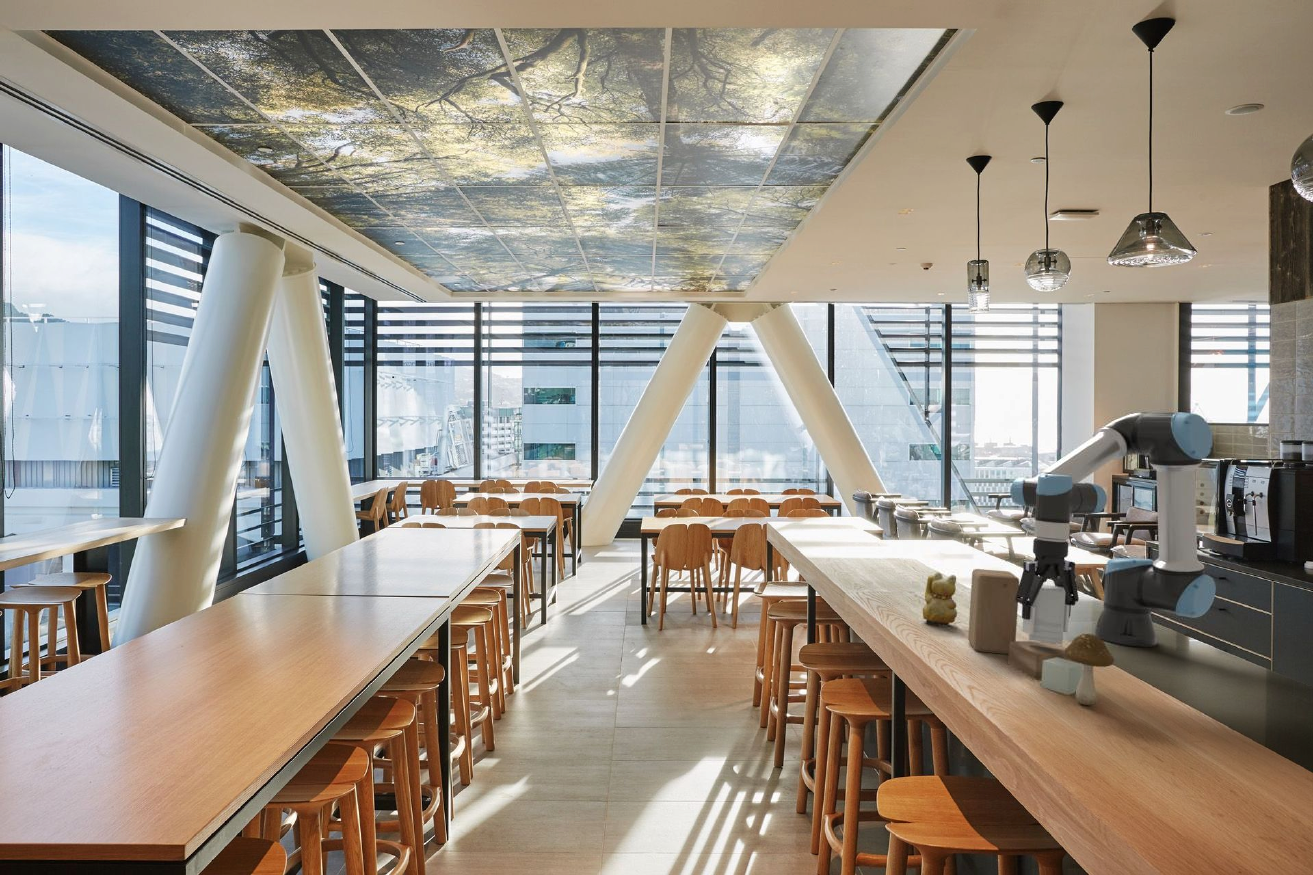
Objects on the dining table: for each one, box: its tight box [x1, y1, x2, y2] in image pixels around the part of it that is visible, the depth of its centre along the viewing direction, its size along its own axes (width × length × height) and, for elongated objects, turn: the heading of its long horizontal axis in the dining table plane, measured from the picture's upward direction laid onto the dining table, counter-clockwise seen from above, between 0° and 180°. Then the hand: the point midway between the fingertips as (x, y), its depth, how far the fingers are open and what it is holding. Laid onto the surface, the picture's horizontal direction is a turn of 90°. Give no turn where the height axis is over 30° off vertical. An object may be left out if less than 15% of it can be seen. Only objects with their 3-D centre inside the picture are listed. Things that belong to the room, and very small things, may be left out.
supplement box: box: [1028, 583, 1065, 645], centre depth 193 cm, size 7×7×13 cm
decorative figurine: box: [922, 571, 958, 627], centre depth 235 cm, size 10×8×15 cm
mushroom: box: [1064, 633, 1115, 706], centre depth 170 cm, size 9×11×15 cm
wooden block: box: [967, 568, 1020, 655], centre depth 211 cm, size 10×10×20 cm
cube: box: [1040, 657, 1084, 696], centre depth 181 cm, size 6×6×6 cm
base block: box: [1007, 640, 1077, 680], centre depth 193 cm, size 11×11×6 cm
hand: (1045, 631), depth 193 cm, fingers closed on supplement box, 10 cm apart
